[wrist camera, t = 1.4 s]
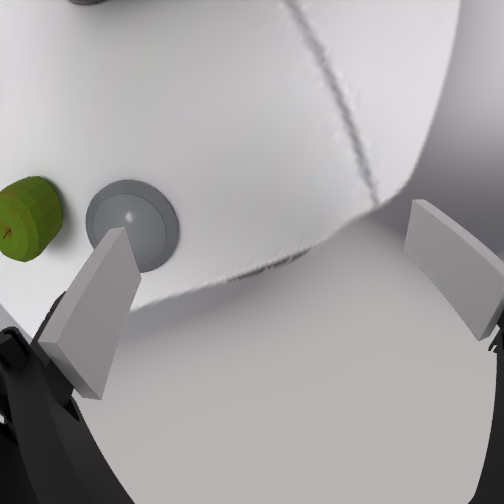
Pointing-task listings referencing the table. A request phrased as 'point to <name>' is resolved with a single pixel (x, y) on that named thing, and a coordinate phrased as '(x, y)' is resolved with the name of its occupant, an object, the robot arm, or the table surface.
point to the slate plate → (135, 221)
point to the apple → (28, 218)
